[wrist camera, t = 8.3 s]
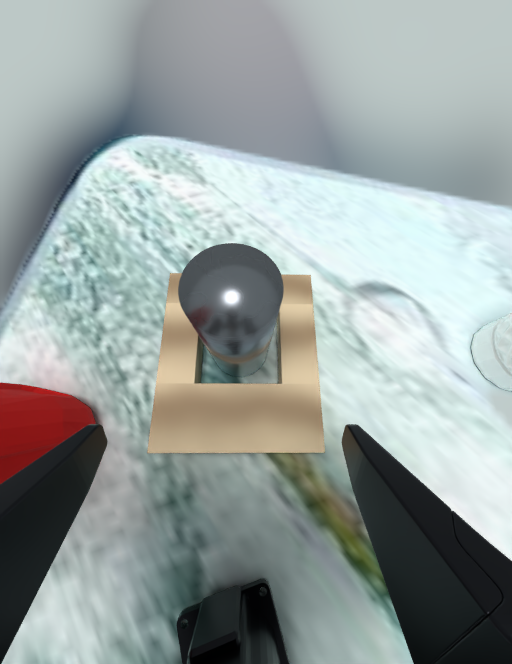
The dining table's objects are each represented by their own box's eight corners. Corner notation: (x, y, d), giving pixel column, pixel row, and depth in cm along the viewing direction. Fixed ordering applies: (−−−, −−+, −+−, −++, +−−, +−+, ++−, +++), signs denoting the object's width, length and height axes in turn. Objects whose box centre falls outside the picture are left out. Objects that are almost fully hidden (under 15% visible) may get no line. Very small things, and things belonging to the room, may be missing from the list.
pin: (273, 367, 23) (298, 319, 11) (221, 383, 22) (190, 350, 11) (257, 319, 24) (265, 233, 13) (207, 333, 24) (169, 256, 12)
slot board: (316, 448, 21) (324, 452, 18) (159, 448, 20) (147, 453, 18) (304, 288, 25) (310, 274, 23) (177, 286, 25) (170, 273, 23)
